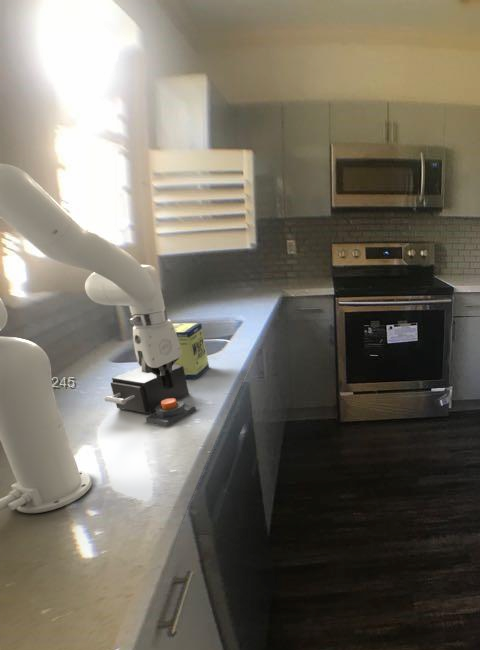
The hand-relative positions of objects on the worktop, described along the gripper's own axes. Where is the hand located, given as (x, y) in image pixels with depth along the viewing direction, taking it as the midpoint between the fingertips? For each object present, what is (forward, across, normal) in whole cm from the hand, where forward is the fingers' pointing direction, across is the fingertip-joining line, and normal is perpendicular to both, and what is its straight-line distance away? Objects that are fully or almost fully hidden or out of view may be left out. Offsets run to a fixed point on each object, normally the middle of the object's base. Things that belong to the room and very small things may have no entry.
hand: (166, 387), depth 117 cm
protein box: (+9, +26, +22) cm, 35 cm away
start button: (+5, 0, 0) cm, 5 cm away
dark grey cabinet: (+8, +6, +12) cm, 16 cm away
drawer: (+7, +2, +12) cm, 14 cm away
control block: (+8, 0, 0) cm, 8 cm away
